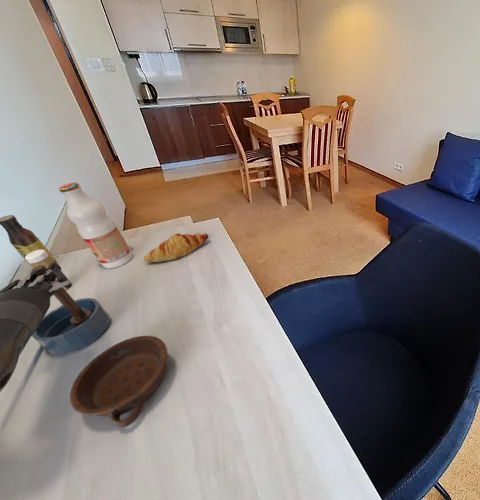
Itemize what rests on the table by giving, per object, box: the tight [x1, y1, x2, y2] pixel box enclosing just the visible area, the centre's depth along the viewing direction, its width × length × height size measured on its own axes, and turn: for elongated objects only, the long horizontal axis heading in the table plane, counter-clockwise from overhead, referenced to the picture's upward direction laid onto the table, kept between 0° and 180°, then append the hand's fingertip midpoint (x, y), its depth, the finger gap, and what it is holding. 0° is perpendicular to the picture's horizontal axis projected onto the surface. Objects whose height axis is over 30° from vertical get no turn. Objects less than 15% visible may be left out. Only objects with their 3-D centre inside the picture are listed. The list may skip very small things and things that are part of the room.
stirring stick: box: [31, 265, 92, 327], centre depth 72 cm, size 4×4×18 cm
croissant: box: [143, 232, 209, 263], centre depth 104 cm, size 21×10×8 cm, turn 125°
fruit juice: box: [58, 181, 134, 269], centre depth 97 cm, size 9×9×28 cm
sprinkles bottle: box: [24, 250, 73, 291], centre depth 91 cm, size 5×5×13 cm
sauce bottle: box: [0, 214, 57, 269], centre depth 100 cm, size 6×6×20 cm
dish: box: [69, 335, 168, 428], centre depth 63 cm, size 18×22×5 cm
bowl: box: [31, 297, 111, 356], centre depth 76 cm, size 14×14×6 cm
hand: (48, 267), depth 70 cm, fingers closed on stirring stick, 2 cm apart
